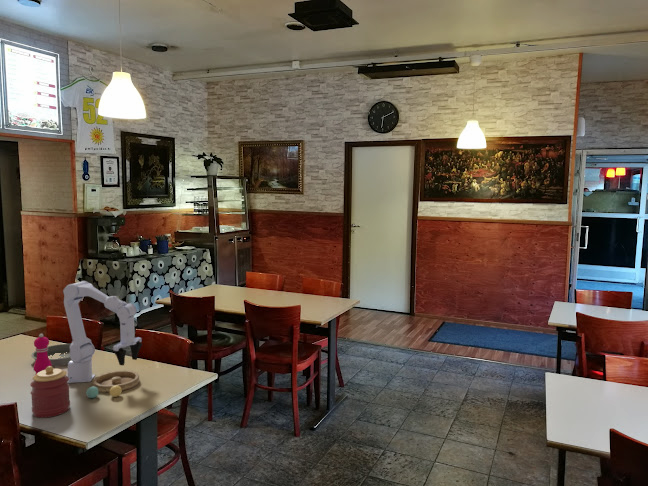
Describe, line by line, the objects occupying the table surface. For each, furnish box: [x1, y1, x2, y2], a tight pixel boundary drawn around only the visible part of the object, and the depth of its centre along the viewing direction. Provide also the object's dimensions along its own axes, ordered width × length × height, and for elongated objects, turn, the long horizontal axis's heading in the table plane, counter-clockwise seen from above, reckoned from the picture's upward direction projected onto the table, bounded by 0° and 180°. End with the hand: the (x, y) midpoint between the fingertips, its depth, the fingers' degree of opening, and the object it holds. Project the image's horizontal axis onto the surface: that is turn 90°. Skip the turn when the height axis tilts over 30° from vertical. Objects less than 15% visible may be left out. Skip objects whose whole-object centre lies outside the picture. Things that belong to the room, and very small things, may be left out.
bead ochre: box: [109, 385, 123, 398], centre depth 203 cm, size 5×5×5 cm
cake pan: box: [31, 343, 72, 367], centre depth 247 cm, size 25×25×4 cm
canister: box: [30, 366, 71, 418], centre depth 189 cm, size 13×13×18 cm
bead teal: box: [85, 385, 100, 399], centre depth 202 cm, size 5×5×5 cm
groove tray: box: [92, 370, 140, 394], centre depth 216 cm, size 18×18×3 cm
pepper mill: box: [33, 333, 53, 375], centre depth 223 cm, size 7×7×20 cm
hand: (128, 362), depth 216 cm, fingers open, 7 cm apart
